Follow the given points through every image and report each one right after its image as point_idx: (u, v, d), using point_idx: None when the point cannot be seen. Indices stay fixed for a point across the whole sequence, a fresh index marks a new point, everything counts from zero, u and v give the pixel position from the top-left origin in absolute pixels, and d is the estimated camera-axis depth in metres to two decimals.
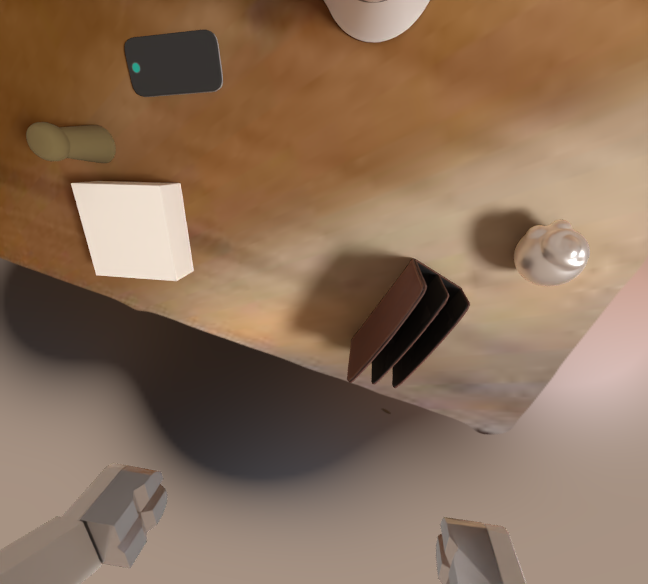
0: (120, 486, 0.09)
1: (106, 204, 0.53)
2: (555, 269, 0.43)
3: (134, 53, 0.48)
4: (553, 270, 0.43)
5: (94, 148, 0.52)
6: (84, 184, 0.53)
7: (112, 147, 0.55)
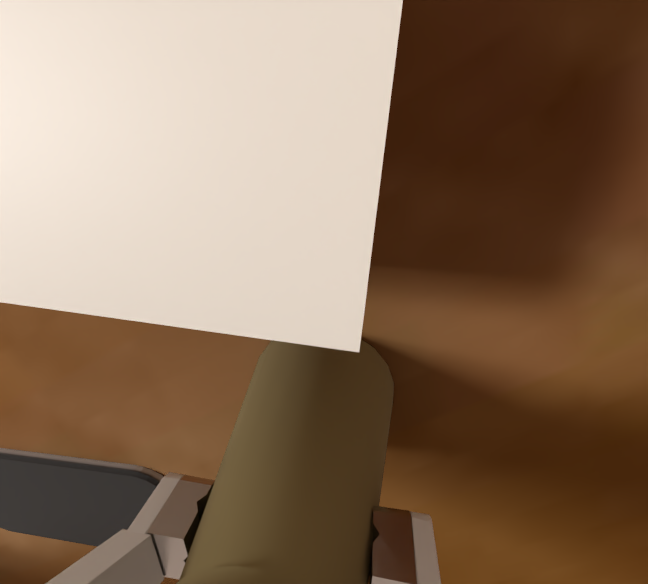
0: (182, 497, 0.08)
1: (58, 158, 0.06)
2: None
3: None
4: None
5: None
6: (242, 328, 0.07)
7: None
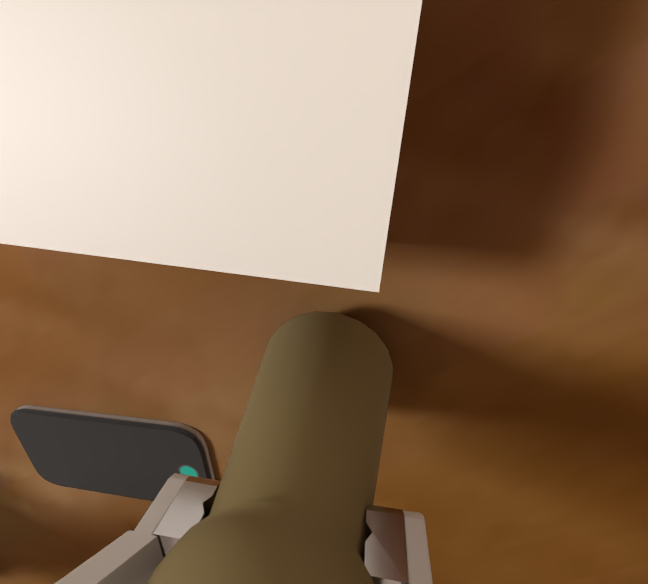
0: (188, 498, 0.08)
1: (169, 149, 0.08)
2: None
3: None
4: None
5: None
6: (292, 275, 0.09)
7: None
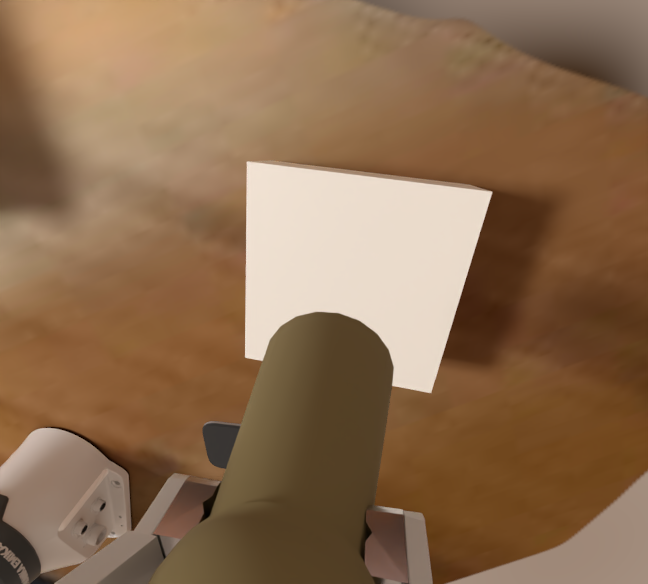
0: (188, 498, 0.08)
1: None
2: None
3: None
4: None
5: None
6: (401, 385, 0.27)
7: None
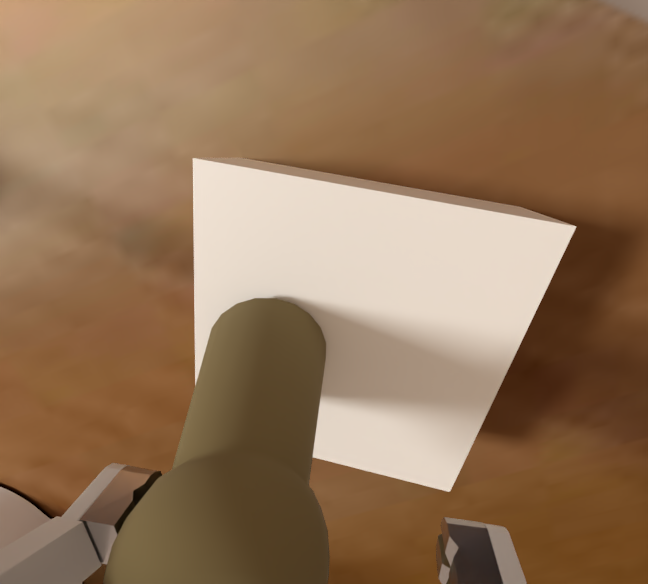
0: (120, 486, 0.09)
1: (364, 429, 0.18)
2: None
3: None
4: None
5: None
6: (409, 478, 0.19)
7: None
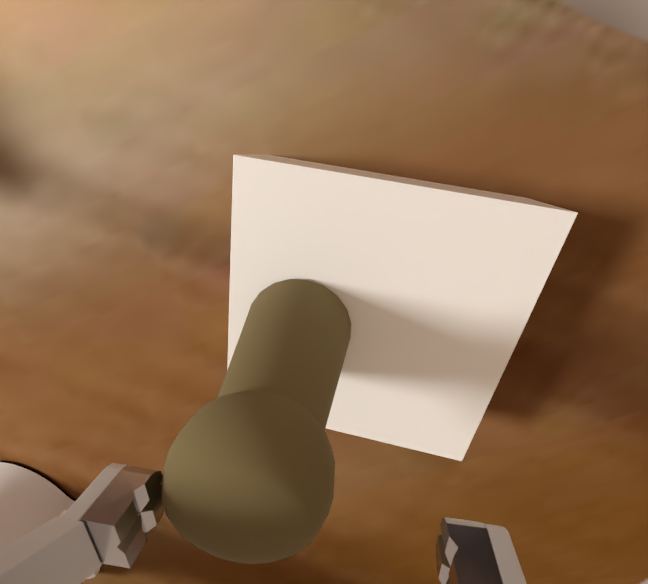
0: (120, 486, 0.09)
1: (384, 403, 0.20)
2: None
3: None
4: None
5: None
6: (424, 449, 0.21)
7: None
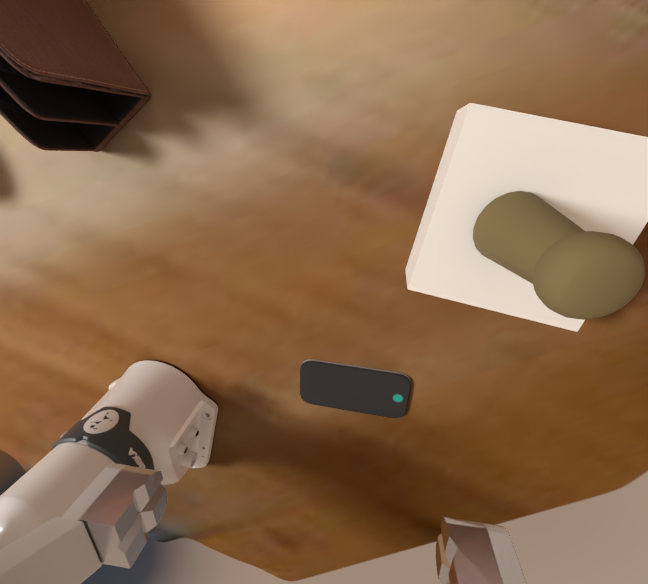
0: (120, 486, 0.09)
1: (529, 286, 0.29)
2: None
3: (393, 408, 0.44)
4: None
5: (508, 228, 0.23)
6: (550, 323, 0.30)
7: (482, 216, 0.26)
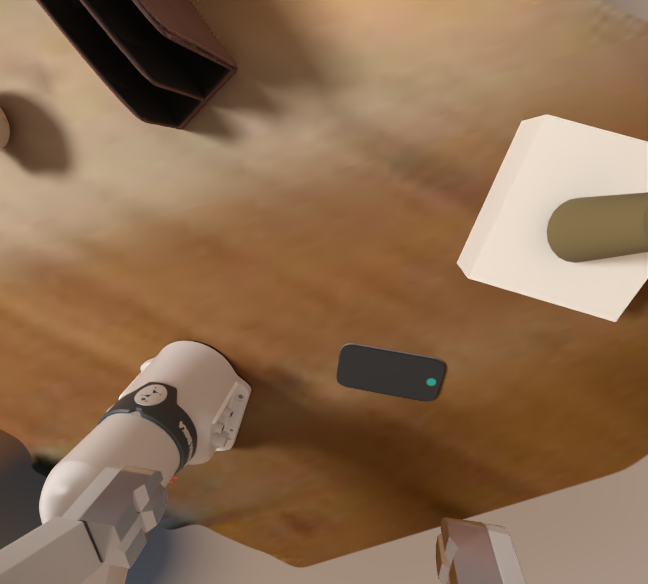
0: (120, 486, 0.09)
1: (578, 279, 0.33)
2: None
3: (425, 391, 0.47)
4: None
5: (597, 204, 0.26)
6: (593, 313, 0.34)
7: (559, 209, 0.29)
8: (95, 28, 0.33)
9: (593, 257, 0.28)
